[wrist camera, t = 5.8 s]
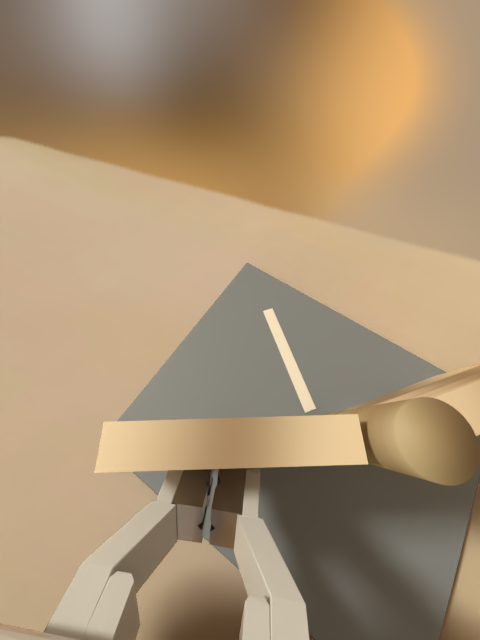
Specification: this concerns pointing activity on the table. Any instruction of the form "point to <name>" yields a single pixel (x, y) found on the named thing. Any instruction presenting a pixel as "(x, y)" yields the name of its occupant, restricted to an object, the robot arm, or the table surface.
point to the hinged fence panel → (231, 443)
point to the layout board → (321, 481)
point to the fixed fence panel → (426, 427)
